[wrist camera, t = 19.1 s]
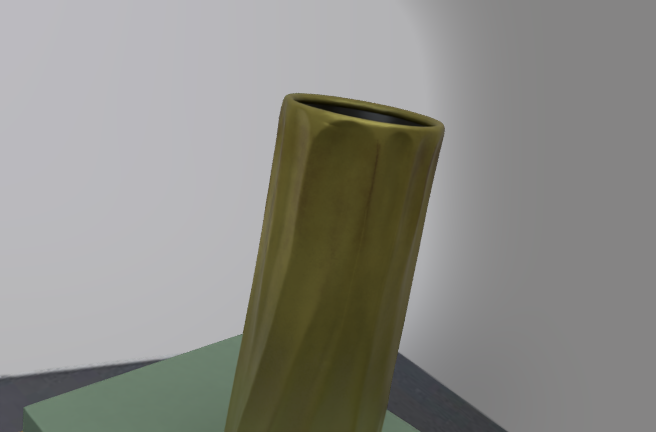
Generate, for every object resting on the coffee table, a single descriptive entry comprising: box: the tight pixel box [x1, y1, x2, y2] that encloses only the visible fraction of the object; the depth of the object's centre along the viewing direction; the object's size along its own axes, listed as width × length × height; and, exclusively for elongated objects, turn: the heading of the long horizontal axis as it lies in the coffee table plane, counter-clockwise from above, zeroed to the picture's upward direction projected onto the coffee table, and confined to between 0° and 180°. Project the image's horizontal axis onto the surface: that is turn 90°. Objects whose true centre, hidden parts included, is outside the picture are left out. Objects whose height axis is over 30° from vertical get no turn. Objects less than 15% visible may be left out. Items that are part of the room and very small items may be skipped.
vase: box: [224, 93, 445, 432], centre depth 21 cm, size 6×6×14 cm
